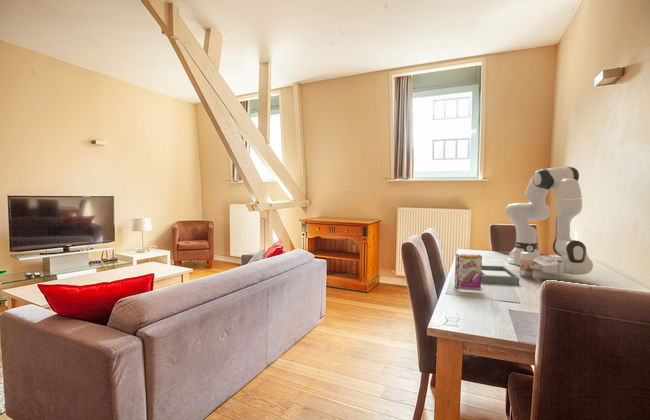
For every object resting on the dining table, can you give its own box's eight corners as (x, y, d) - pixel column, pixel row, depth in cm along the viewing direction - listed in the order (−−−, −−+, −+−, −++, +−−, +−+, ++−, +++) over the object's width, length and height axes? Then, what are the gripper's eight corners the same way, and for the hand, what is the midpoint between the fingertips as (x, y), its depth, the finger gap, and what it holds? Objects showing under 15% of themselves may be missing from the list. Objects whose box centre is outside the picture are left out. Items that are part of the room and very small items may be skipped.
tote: (469, 272, 190) (469, 264, 190) (503, 274, 187) (503, 266, 186) (479, 284, 167) (479, 275, 167) (518, 286, 163) (519, 277, 163)
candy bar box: (457, 289, 160) (458, 255, 159) (454, 285, 165) (455, 253, 164) (481, 289, 159) (482, 255, 158) (477, 286, 164) (478, 253, 162)
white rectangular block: (480, 276, 178) (480, 270, 178) (504, 277, 175) (504, 271, 175) (485, 281, 168) (485, 274, 168) (510, 283, 166) (511, 276, 165)
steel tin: (517, 276, 181) (518, 251, 180) (530, 277, 180) (531, 251, 179) (521, 279, 175) (523, 253, 175) (534, 280, 174) (535, 253, 173)
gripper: (546, 255, 184) (519, 254, 187) (564, 263, 164) (533, 262, 167) (546, 266, 185) (518, 265, 188) (564, 276, 165) (533, 274, 168)
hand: (526, 264), depth 177 cm, fingers open, 8 cm apart
